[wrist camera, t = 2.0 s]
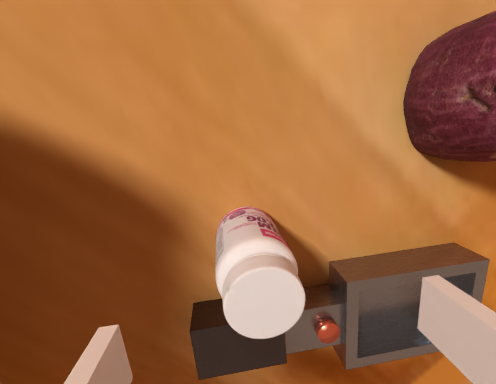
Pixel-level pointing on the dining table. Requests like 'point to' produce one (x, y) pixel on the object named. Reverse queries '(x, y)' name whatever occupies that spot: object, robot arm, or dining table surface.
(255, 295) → the pill bottle
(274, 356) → the shallow gray tray
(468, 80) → the vegetable
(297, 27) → the dining table surface
